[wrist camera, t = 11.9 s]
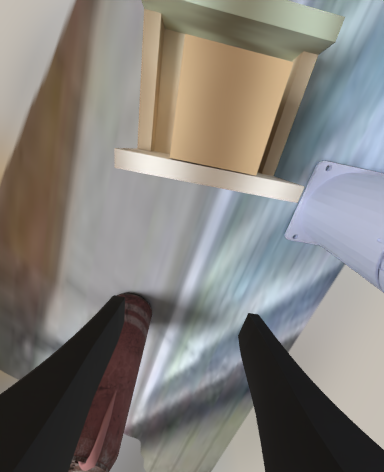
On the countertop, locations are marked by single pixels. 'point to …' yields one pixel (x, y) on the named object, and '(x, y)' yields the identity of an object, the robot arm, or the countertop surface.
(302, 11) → the wooden cubby shelf
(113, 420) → the can
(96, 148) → the countertop surface
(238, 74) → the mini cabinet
